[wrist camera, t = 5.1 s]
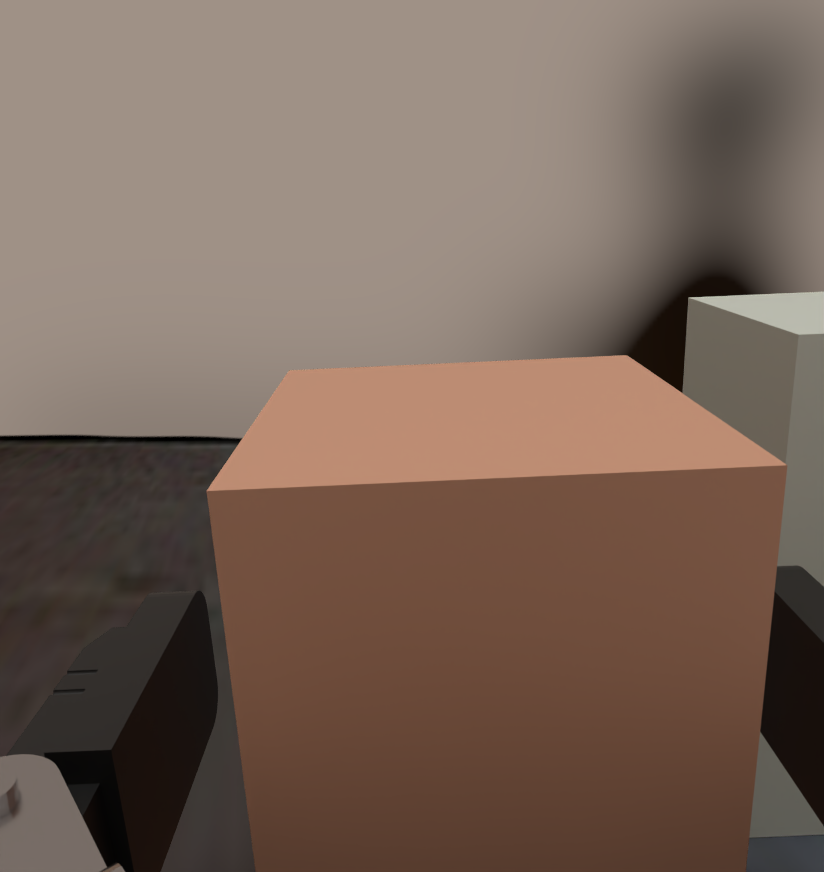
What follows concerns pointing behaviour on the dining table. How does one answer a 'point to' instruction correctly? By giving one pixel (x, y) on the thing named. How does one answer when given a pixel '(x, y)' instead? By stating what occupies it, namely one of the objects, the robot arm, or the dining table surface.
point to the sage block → (783, 438)
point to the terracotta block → (496, 619)
